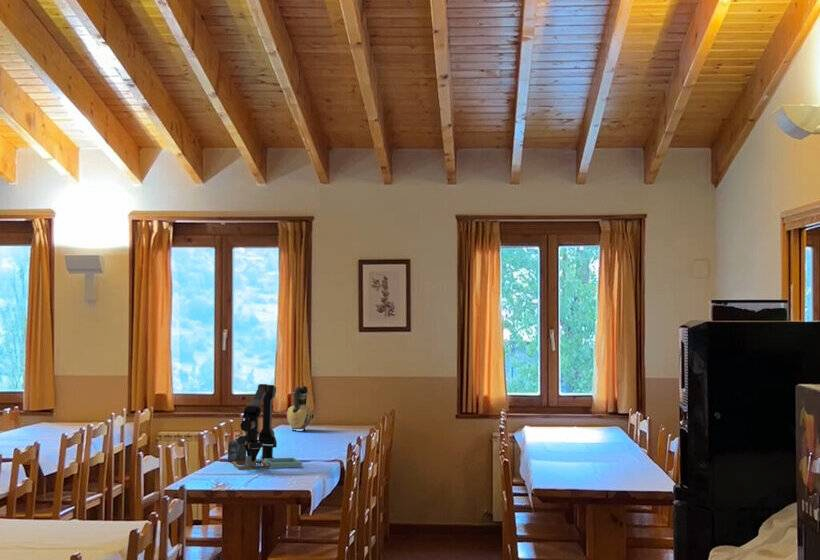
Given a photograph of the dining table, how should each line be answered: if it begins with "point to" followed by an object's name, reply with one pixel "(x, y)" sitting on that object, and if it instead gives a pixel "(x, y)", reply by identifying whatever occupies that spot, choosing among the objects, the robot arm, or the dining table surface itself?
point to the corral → (249, 466)
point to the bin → (282, 462)
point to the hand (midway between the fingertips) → (251, 460)
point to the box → (236, 452)
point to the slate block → (250, 461)
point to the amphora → (299, 410)
